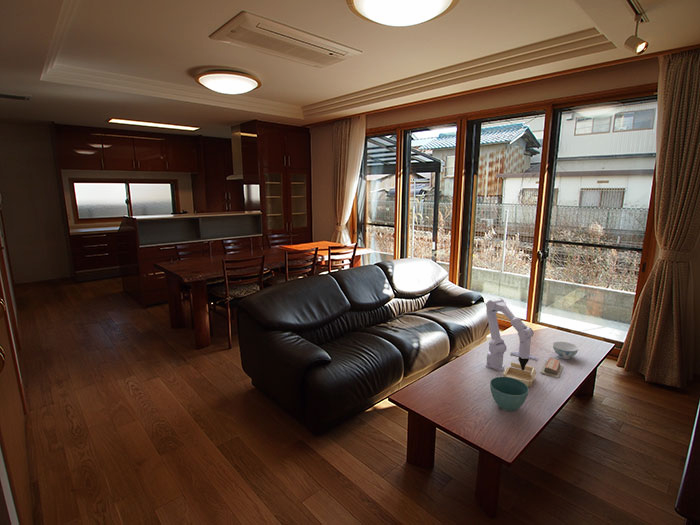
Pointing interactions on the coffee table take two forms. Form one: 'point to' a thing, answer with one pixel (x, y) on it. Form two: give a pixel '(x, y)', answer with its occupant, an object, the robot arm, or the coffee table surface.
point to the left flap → (517, 365)
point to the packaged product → (552, 368)
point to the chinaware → (565, 349)
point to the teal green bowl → (508, 392)
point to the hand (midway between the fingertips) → (522, 369)
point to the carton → (519, 375)
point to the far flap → (533, 374)
